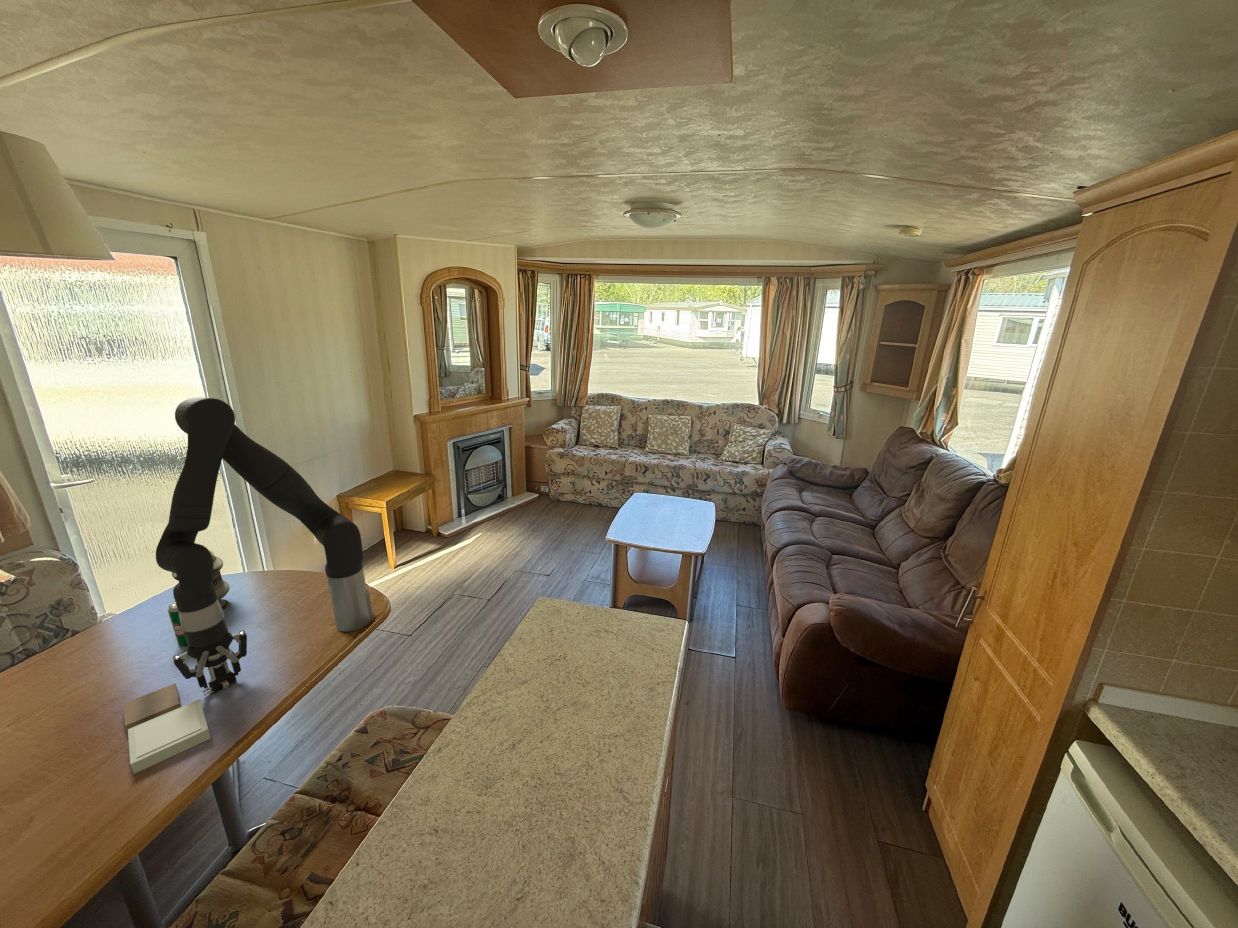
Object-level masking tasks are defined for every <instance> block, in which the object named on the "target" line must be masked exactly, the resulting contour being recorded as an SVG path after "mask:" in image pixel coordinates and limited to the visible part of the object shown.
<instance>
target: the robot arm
mask: <svg viewBox="0 0 1238 928" xmlns="http://www.w3.org/2000/svg"><path fill="white" fill-rule="evenodd" d="M175 408H176V409H175V411H174V419H175V422H176V425H177V426H178V427H179V429H180V430H181V431H183V432H184V433H185V434H187V449H186V455H185V461H184V463H183V467H182V469H181V472H180V474H179V477H178V479H177V482H176V484H175V487H174V489H173V494H172V498H171V504H170V510H169V516H168V523H167V524H166V526H165V528H164V530H163V532H162V534H161V537H160V539H159V541H158V543H157V546H156V548H155V549H156V550H155V562H156V564H157V566H158V567H159V568H161V569H162V570H163V571H166V572H167V571H168V572H170V573H172V572H173V573H176V574H177V576H178V579H179V581H178V583H177V584H175V585H174V587H173V590H172V592H173V600H174V602H176V605H177V608H178V612H179V619H180V623H181V627H182V629H183V632H184V635H185V638H186V642H187V645H188V646H187V649H186V651H185V652H183V653H180V654H175V655H174V656H172V660H173V663H174V665H175V667H176V668H177V669H178V671H179V672H180V673H181V674H182V676H183V678H184V679H186V680H189V679H191V678H196V681H197V683H198V686H199V688H201V689H202V688H204V690H206V689H207V688H208V687H209V684H208V683H207V680H206V676H205V673H204V669H205V668H206V667H205V665H206V661H208V657H209V656H211V655H214V654H217V653H219V652H220V653H221V654H222V655H224V656H225V655H226V658H227V660H228V661H230V663H231V667H232V670H233V671H232V672H233V673H234V674H235V676H239V673H241V672H242V668H241V665H240V659H242V658H245V657H246V656H247V653H248V651H247V650H248V648H247V647H248V644H247V643H248V635H247V634H246V631H245V630H240V631H239V632H237V633H233V634H232V633H231V632H230V631H229V630H228V626H227V621H226V619H225V615H224V614H225V613H224V611H223V609H222V608H221V605H220V603H219V601H218V599H217V595H216V592H215V588H214V585H213V558H212V555H211V553H210V551H211V550H209V549H208V548H207V547H206V546H204V545H203V544H200V543H196V538H197V536H198V534H199V532H202V531H205V530H207V529H208V528H209V526H210V523H211V518H212V512H213V505H214V497H215V491H216V485H217V481H218V476H219V471H220V467H221V464H222V460H223V461H225V463H227V464H228V466H230V468H232V469H233V470H234V471H235V472H236V473H237V474H238V475H239V476H240V477H241V478H242V479H243V480H245V481H246V483H247V484H249V485H250V486H251V487H252V488H253V489H254V490H255V491H256V492H258V493H259V494H260V495H262V497H264V498H265V499H266V500H268V501H269V502H270V503H272V504H273V505H274V506H276V507H277V508H279V509H280V510H282V511H284V512H286V513H288V514H290V515H291V516H293V517H294V518H296V519H298V521H300V523H301V524H303V525H304V526H305V527H306V529H308V530H309V531H310V532H311V534H312V535H313V536H314V538H316V539H317V541H318V542H319V543H320V544H321V545H322V546H323V548H324V552H325V553H324V554H325V559H326V563H325V565H324V571H325V575H326V580H327V581H326V582H327V587H328V590H329V595H330V600H331V601H330V602H331V607H332V612H333V616H334V622H335V628H336V629H337V630H338V631H340V632H345V633H346V632H347V633H348V632H354V631H357V630H360V629H362V628H364V627H366V626H368V625H369V623H370V622H372V621H374V620H375V618H374V617H375V616H374V611H373V606H372V604H373V603H372V601H371V595H370V594H371V593H370V591H369V590H368V589H367V583H366V577H365V572H364V566H363V561H364V551H363V550H364V549H363V542H362V538H361V537H362V536H361V535H362V534H361V532H360V530H359V529H360V528H359V527H358V525H357V524H355V523H354V522H353V521H352V520H351V519H349V518H348V517H346V516H344V515H343V514H341V513H340V512H338V511H337V510H336V509H334V508H332V507H331V506H329V505H328V504H327V503H326V502H325V501H323V499H321V498H320V497H319V496H318V494H317V493H316V491H314V490H313V488H312V486H311V485H310V484H309V483H308V482H307V481H306V479H305V478H304V477H303V476H302V475H301V474H300V473H299V472H298V471H297V470H295V469H294V468H293V467H292V466H291V465H290V464H289V463H288V462H287V461H285V460H284V459H282V458H281V457H280V456H279V455H277V454H276V453H274V452H272V451H270V450H269V449H268V448H266V447H264V446H263V445H261V444H259V443H258V442H256V441H255V440H253V439H251V438H250V437H249V436H248V435H246V433H245V432H244V431H243V430H241V428H239V427H238V426H237V425H236V424H235V423H236V414H235V412H234V410H233V408H232V406H230V405H229V404H228V403H227V402H225V401H224V400H221V399H219V398H215V397H208V396H207V397H204V396H203V397H202V396H201V397H199V396H198V397H192V398H188V399H185V400H183V401H181V402H180V403H179V404H178V405H177V407H175ZM234 640H235V642H236V643H238V651H236V652H235V651H233V650H232V649H231V647H230V646H231V644H232V642H233V641H234ZM227 649H228V650H229V651H228V650H227ZM188 657H190V658H193V659H195V666H194V669H193V668H192V669H190V667H189V666H188V664H187V662H188Z"/></svg>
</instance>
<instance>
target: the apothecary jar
mask: <svg viewBox="0 0 1238 928" xmlns="http://www.w3.org/2000/svg"><path fill="white" fill-rule="evenodd" d="M209 551H210V553H211V555H212V558H213V585H214V588H215V592H216V595H217V599H218V601H219V603H220V605H221V608H222V610H224V609H226V608H228V606H229V605H230V601H229V600H227V599H225V598H224V597H226V595H227V594H228V593H229V591H230V584H229V582H228V581H226V580H224V579H223V577H222V574H221V569H223V566H224V561H223V559H222V558H221V557H219V556H217V555H216V556H215V554H214V552H213V551H212V550H209ZM171 576H172V578H173V579H174V580H176V581H178V582H179V579H178V576H177V574H176V573H173V572H171Z"/></svg>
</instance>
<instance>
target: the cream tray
mask: <svg viewBox="0 0 1238 928" xmlns="http://www.w3.org/2000/svg"><path fill="white" fill-rule="evenodd" d="M208 726H209V725H208V722H207V719H206V714H205V710H204V706H203V703H202V699H201V698H199V699H198V700H195V701H192V702H190V703H188V704H185V705H183V706H181V707H180V708H178V709H175V710H173V711H171V712H168V713H166V714H163V715H161V716H159V717H156V718H154V719H151V720H149V721H147V722H144V723H142V724H139V725H137V726H135V727H132V728H130V729H128V733H127V735H128V736H127V737H128V751H129V764H130V767H131V770H132V773H133V774H134V775H135V774H137V773H140V772H142V771H143V770H147V769H148V768H150V767H153V766H154V765H157V764H159V763H161V762H163V761H165V760H167V759H169V758H172V757H174V756H176V755H178V754H180V753H182V752H184V751H187V750H189V749H191V748H193V747H195V746H198V745H200V744H202V743H203V742H205V741H209V740H211V739H212V737H211V733H210V730H209V727H208Z"/></svg>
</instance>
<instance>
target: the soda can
mask: <svg viewBox="0 0 1238 928" xmlns="http://www.w3.org/2000/svg"><path fill="white" fill-rule="evenodd" d="M167 613H168V616H169V619H170V623H171V625H172V629H173V632H174V636H175V638H176V641H177V644H178V645H179V646H182V647H188V645H187V642H186V638H185V635H184V632H183V629H182V627H181V623H180V619H179V612H178V608H177V605H176V602H175V601H174V602H172V603H170V604H169V606H168V608H167Z"/></svg>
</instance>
